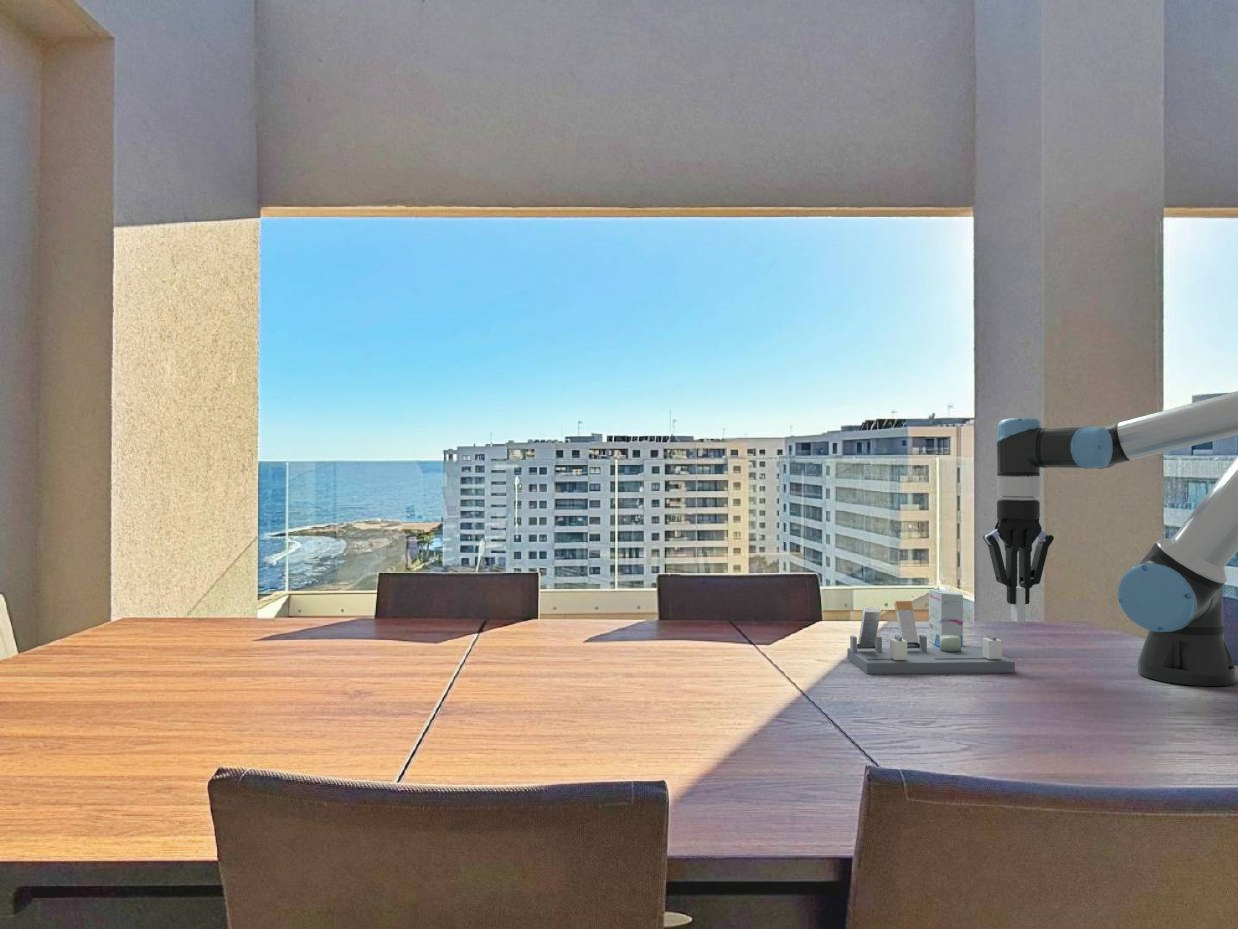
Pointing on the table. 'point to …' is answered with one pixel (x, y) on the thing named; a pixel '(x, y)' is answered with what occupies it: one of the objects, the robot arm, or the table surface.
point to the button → (950, 643)
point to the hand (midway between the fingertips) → (1018, 620)
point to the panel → (925, 660)
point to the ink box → (945, 615)
